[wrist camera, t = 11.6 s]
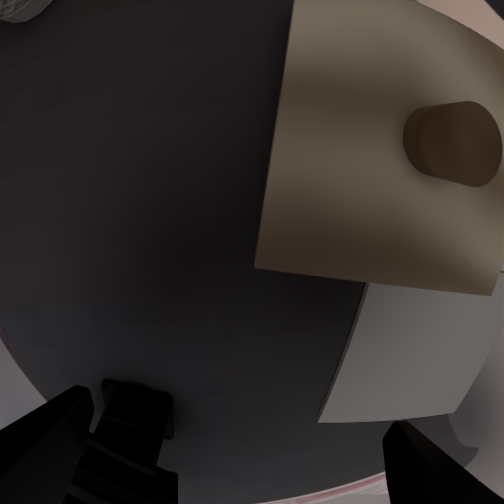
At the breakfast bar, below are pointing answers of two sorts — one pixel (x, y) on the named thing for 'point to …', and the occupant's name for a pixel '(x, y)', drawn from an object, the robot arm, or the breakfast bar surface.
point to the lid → (387, 150)
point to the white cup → (21, 9)
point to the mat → (412, 353)
